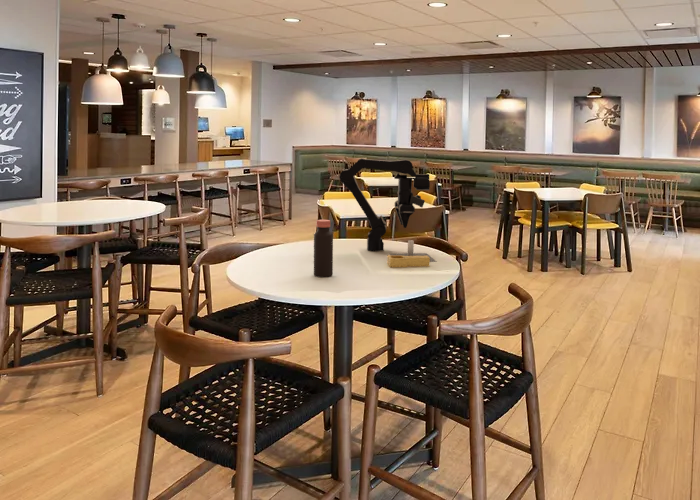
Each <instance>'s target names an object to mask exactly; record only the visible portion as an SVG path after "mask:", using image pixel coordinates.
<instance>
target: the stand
mask: <svg viewBox="0 0 700 500" xmlns="http://www.w3.org/2000/svg"><path fill="white" fill-rule="evenodd" d="M414 242H415V240H414V239H412V240H411V239H408V240H407V253H406V252H405V253H404V252H403V253H399V252H398V253H397V252H396V253H395V252H394V253H392V252H391V253H389V255H404V256H428V257H429V258H430V263H437V262H438V261H437V260H436V259H434V258H433V257H432V256H431V255H429V254H428V253H427V252H417V253H416V252H414V249H415V248H414V247H415V246H414V244H415V243H414Z"/></svg>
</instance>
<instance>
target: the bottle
mask: <svg viewBox="0 0 700 500" xmlns="http://www.w3.org/2000/svg"><path fill="white" fill-rule="evenodd" d="M316 228H317V230H316V232H315V233H313V275H314V276H315V277H316V278H317V277H318V278H329V277H332V276H333V275H334V273H333V271H334V269H333V268H334V263H333V262H334V261H333V259H334V256H333V255H334V254H333V253H334V244H333V243H334V235H333V234H334V233H332V232H331V230H330V229H331V220H330V219H317V220H316Z"/></svg>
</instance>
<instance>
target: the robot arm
mask: <svg viewBox="0 0 700 500" xmlns="http://www.w3.org/2000/svg"><path fill="white" fill-rule="evenodd" d="M413 167H414V166H413V162H411V160H409V159H397V160H380V159H368V158H359V159H358V160H357V161H356V162H355V163H354V164H353V165H351V167H349V168H348V169H347V168H346V169H344V170H342V171H341V172H340V173H339V176H338V177H339V180H340V182H341V183H342V184H343V186H345V187H346V189H348V191H350V193H351V194H352V196H353V197H354V199H355V201H356V202H357V204H358V205H359V206H360V208H361V210H362V211H363V213H364V214H365V216H366V218H367V219H368V222H369V226H370V229H371V230H369V231H368V233H367V238H366V250H367V252H384V244H385V243H384V242H383V238H382V237H383V236H384V235H385V234H386V232H387V222H386V220H384V217H383V215H379V216H378V214H376V212H375V211H374V209H373V208H372V206H371V204H370V203H369V201H368V200H367V198H366V196H365V195H364V193H363V191H362V189H360V186H359V184H358V182H357V178H356V175H357V174H358V173H359V172H360V171H361V170H363V169H374V170H375V169H376V170H386V171H388V170H389V171H392V172H396V175H395V176H394V177H393V178H394V180H395V179H396V180H398V183H397V184H398V185H397V187H398V188H397V189H398V190H397V193H396V194H397V200H395V202H394V207H395V211H396V215H397V217H398V220H399V224H400V225H401V226H403V228H404V229H407V226H408V223H409V220H410V217H411V216H412V215H413V214H414V212H415V211H416V210H415V209H416V207H415V205H416V206H418V207H419V208H423V207H424V204H425V202H426V200H425V199H422V196H420V195H419V194H416V195H415V196H414V192H413V191H412V190H413V188H415V190H416V191H430V188H431V187H430V186H431V185H430V184H431V183H430V173H425V174H424V173H423V174H422V173H420V174H419V173H417V172H416V171H415V169H413ZM400 173H401V174H400ZM408 175H409V177H408Z"/></svg>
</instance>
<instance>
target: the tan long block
mask: <svg viewBox="0 0 700 500" xmlns="http://www.w3.org/2000/svg"><path fill="white" fill-rule="evenodd" d="M386 258H387V259H386V261H387V263H386V264H387V266H388V267H389V268H408V267H430V263H431V262H430V258H429V257H428V256H404V255H390V254H389V255H387V257H386Z"/></svg>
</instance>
